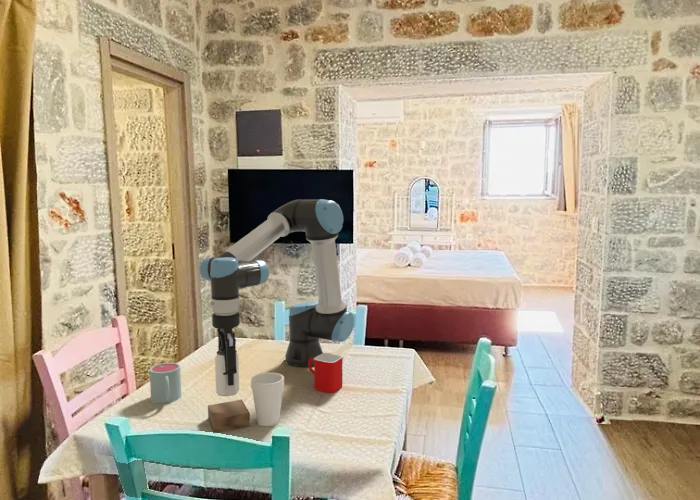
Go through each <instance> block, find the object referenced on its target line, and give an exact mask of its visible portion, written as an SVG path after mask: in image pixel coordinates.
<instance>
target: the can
mask: <svg viewBox="0 0 700 500" xmlns="http://www.w3.org/2000/svg"><path fill="white" fill-rule="evenodd" d="M214 360H215V361H214V363H215V365H214V367H215V368H214V369H215V391H216V394H217V396H221V397H226V396H225V375H223V373H225V372H226V370H225V359H224V351H221V350H219V351H218V350H217V352H216V355H215V358H214ZM239 363H240V362H239V354H238V351H237V350H236V370H237V373H235V395H236V394H238V393H239V391H240V372H239V371H240V369H239V368H240V367H239V366H240V365H239Z"/></svg>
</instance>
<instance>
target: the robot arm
mask: <svg viewBox="0 0 700 500" xmlns="http://www.w3.org/2000/svg"><path fill="white" fill-rule="evenodd" d="M343 224H344V214H343V211H342V209H341V207H340V205H339V204H338V203H337V202H336V201H334V200H330V199H329V200H328V199H324V198H323V199H321V198H320V199H295V200H291V201H289V202H287V203H285V204H283V205H282V206H279V207H278V208H277V209H275V210H274V211H272V212H271V213H270V214H269V215H267V220H264V221H263V222H262V223H260V224H259V225H258V226H257V227H256V228H254V229H252V230H251V231H250V232H249V233H248V234H246V235H245V236H243V237H242V238H240V239H239V240H238V241H237V242H235V243H234V244H233V245H231V246H230V247H228V248H227V249H226V250H225V251H223V252H222V253H221V254H219V255H217V256H216V257H215V256H211V257H205V258H204V259H203V260H202V261H201V263H200V265H199V273H200V276H201V278H203V280H205V281H209V282H210V287H211V288H210V289H211V291H210V292H211V301H210V302H209V306H211V312H212V314H211V321H212V322H211V323H212V324H211V326H212V327H213V328H214V329H217V336H218V337H217V339H218V340H217V342H218V344H217V345H218V346H217V347H218V348H217V349H218V350H217V351H219V350H221V351H224V359H225V370H226V372H225V373H223V375H225V396H224V397H231V396H236V394H235V373H237V370H236V353H237V352H236V351H237V350H236V349H237V348H236V343H237V339H236V337H235V332H233V329H234V328H237V327H239V325H240V321H241V320H240V312H239V311H240V289H245V288H249V287H250V288H251V287H255V286H259V285H262V284H265V283H266V282H267V280H268V279H269V276H270V268H269V266H268V264H267V263H266V261H264V260H261V259H255V258H256V257H257V256H258V255H259V254H261V253H262V252H263V251H264V250H266V249H267V248H268V247H269V246H271V245H272V244H273V243H274V242H275V241H277V240H278V239H280V237H281V238H282V237H283V238H284V237H286V236H288V235H289V234H291V233H295V232H302V233H304V232H305V239H306V240H307V241H308V242H309V243H310V244H311V252H312V259H313V266H314V275H315V282H316V290H317V291H316V292H317V297H318V302H317V301H307V302H306V301H305V302H298V303H295V304H293V305H291V306H290V307H289V310H288V311H289V313H288V325H289V326H288V327H289V328H288V332H289V341H288V342H289V343H288V346H287V349H286V352H285V359H284V361H285V363H286V364H287V365H290V366H294V367H304V368H305V367H309V359H310V358H313V359H314V358H315V357H317V356H319V355H320V354H322V353H324V352H323V350H322V349H323V348H322V345H321V344H320V339H322V340H327V341H332V342H336V343H337V342H339V343H342V342H345V341H346V340H348V339H349V337H350V336H351V335H352V333H353V330H354V326H355V316H354V313H352V312H351V311H349V310H348V308H347V304H346V302H344V301H343V300H342V293H341V292H342V291H341V284H340V283H341V282H340V275H339V267H338V258H337V249H336V248H337V247H336V239H337V238H338V236H339V232H341V230H342V228H343ZM312 366H313V367H314V361H311V367H312Z"/></svg>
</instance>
